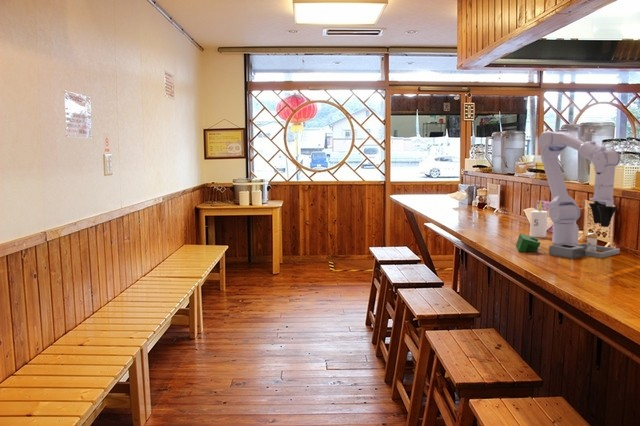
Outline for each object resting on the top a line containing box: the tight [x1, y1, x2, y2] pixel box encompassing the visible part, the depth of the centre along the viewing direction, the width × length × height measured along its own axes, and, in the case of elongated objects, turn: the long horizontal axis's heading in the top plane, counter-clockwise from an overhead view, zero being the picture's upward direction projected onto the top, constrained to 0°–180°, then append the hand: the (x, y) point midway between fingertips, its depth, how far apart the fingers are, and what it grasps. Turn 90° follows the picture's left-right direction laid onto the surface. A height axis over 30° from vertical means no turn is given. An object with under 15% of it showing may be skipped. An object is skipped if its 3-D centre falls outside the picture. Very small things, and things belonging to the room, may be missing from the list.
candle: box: [529, 200, 549, 238], centre depth 207 cm, size 6×6×15 cm
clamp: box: [515, 233, 541, 253], centre depth 176 cm, size 12×6×9 cm, turn 157°
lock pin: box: [585, 232, 598, 252], centre depth 170 cm, size 3×3×7 cm
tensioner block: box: [548, 243, 586, 260], centre depth 166 cm, size 8×8×4 cm
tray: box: [577, 242, 620, 259], centre depth 171 cm, size 13×13×2 cm
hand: (601, 224), depth 171 cm, fingers open, 7 cm apart
